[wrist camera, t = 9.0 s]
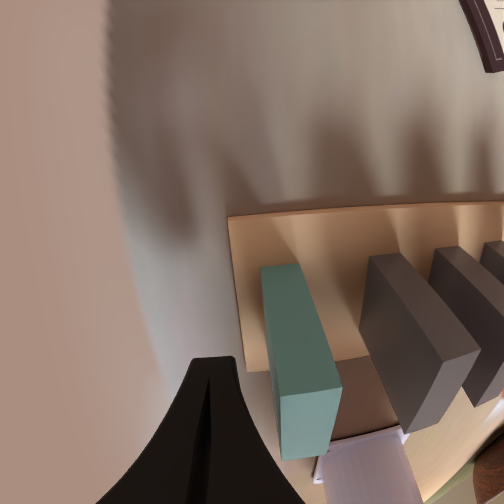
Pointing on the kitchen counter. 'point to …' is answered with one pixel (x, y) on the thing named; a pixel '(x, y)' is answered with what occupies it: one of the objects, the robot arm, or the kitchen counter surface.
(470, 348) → the domino
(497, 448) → the wooden bowl
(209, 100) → the kitchen counter surface
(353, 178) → the kitchen counter surface
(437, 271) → the domino
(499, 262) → the domino
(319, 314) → the cork strip
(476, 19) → the chocolate bar
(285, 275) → the domino
